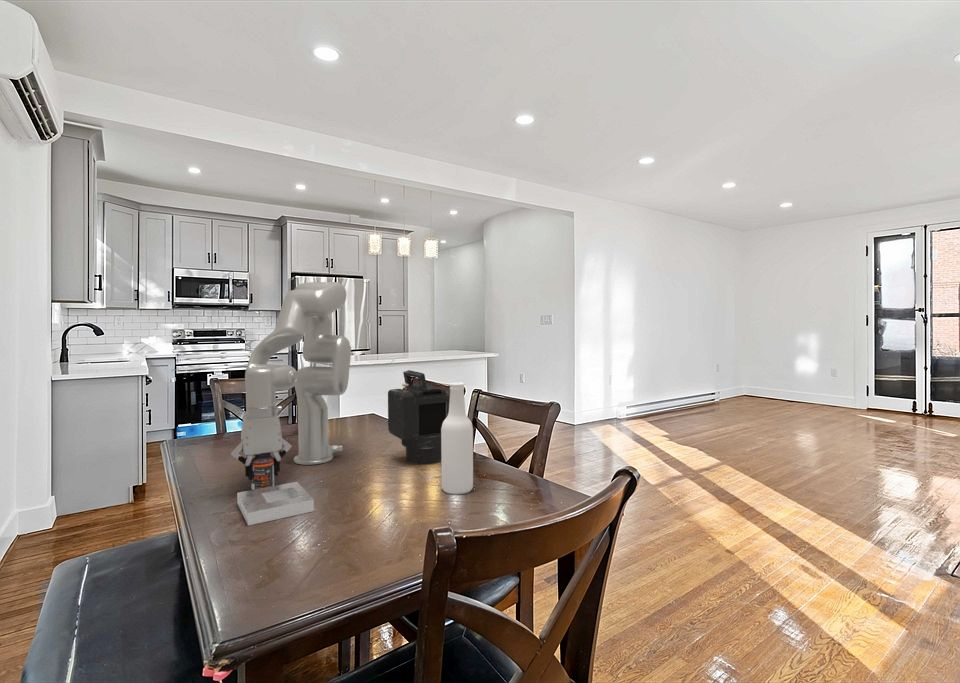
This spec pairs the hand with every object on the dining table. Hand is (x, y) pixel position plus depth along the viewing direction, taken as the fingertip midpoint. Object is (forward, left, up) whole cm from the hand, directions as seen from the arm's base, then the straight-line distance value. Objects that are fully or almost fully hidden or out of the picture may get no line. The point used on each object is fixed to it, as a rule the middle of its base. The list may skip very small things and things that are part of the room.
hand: (262, 476), depth 137 cm
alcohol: (-45, +30, -4) cm, 54 cm away
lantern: (-50, -2, -4) cm, 50 cm away
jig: (0, +15, -4) cm, 16 cm away
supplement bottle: (0, 0, -4) cm, 4 cm away
